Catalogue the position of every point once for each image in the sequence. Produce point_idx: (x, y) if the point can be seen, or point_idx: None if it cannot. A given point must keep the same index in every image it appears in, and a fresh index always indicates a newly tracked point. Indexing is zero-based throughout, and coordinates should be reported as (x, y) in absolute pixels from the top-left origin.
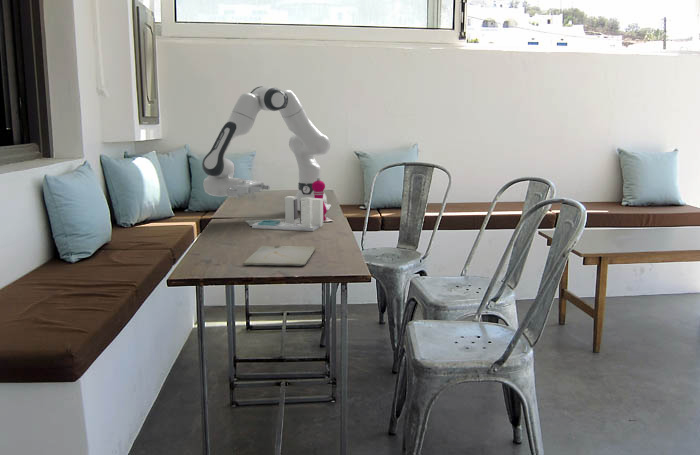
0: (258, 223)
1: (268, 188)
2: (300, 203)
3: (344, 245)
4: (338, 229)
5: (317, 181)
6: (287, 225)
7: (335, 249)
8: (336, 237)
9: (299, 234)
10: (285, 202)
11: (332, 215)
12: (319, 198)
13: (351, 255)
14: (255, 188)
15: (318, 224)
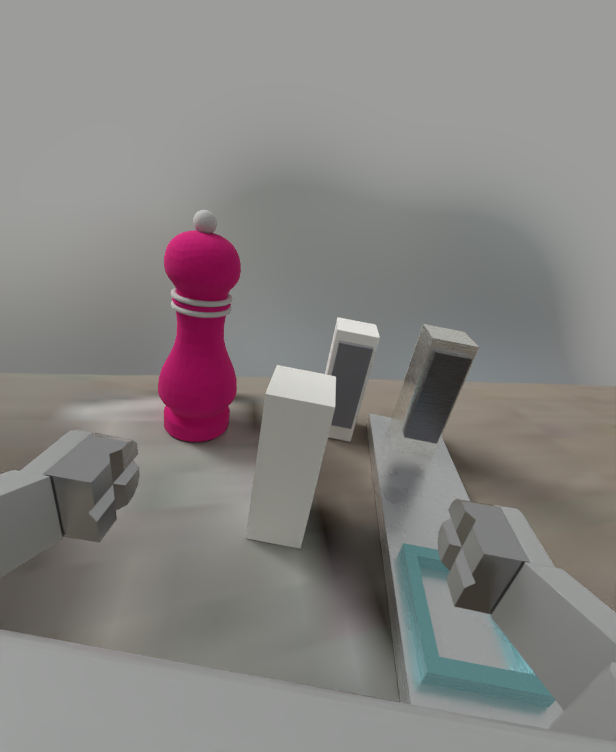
0: (552, 698)
1: (135, 470)
2: (466, 371)
3: (541, 392)
4: (373, 390)
5: (221, 237)
6: (450, 504)
7: (589, 404)
8: (478, 398)
9: (512, 468)
10: (326, 438)
11: (72, 387)
12: (339, 322)
13: (601, 390)
14: (568, 594)
15: (373, 414)
